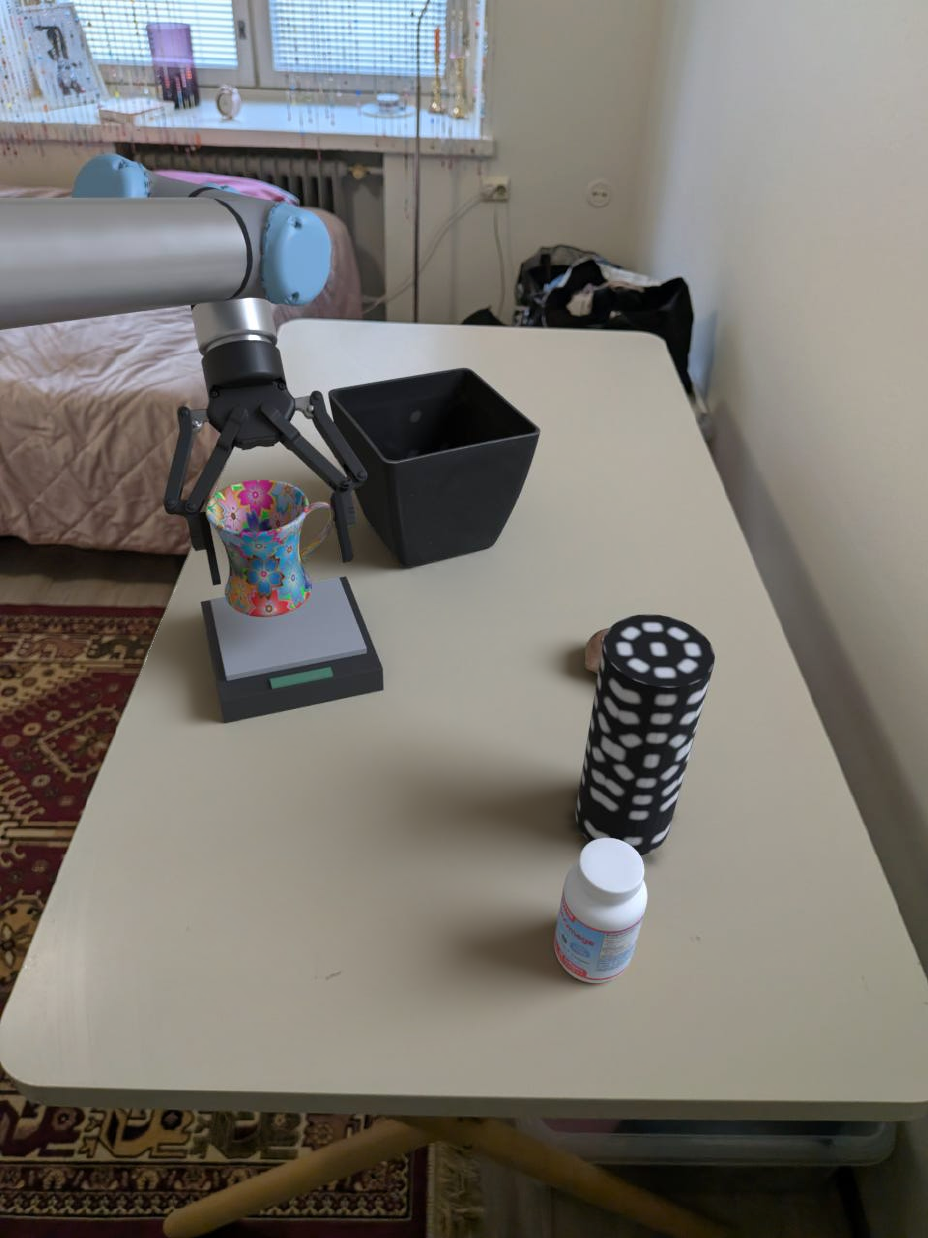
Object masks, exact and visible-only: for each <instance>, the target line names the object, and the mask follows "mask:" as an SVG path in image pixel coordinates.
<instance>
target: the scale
mask: <svg viewBox="0 0 928 1238" xmlns="http://www.w3.org/2000/svg"><path fill="white" fill-rule="evenodd" d="M347 577H348V576H346V575H345V576H340V577H339V576H338V577H332V578H331V577H330V578H326V579H321V580H314V581H311V582H312V590H311V593H310V596H309V597H308V599H307V600H306V601H305V602H304V603H303V604H302V605H301V606H300V607H298V608H297V609H295V610H293V611H291V612H288V613H286V614H283V615H279V616H273V617H254V616H249V615H245V614H243V613H240V612H238V611H237V610H235V609H234V608H232V607H231V606H230V605H229V603H228V602H227V600H226V598H225V596H223V597H216V598H211V599H207V600H201V601H200V606H201V612H202V617H203V622H204V627H205V628H204V629H205V632H206V633H205V634H206V637H207V642H208V649H209V653H210V659H211V664H212V669H213V674H214V680H215V684H216V689H217V695H218V700H219V705H220V711H221V715H222V720H223V723H224V724H228V723H232V722H237V721H242V720H246V719H252V718H256V717H260V716H261V717H262V716H265V715H271V714H276V713H281V712H284V711H289V710H293V709H299V708H303V707H304V708H305V707H309V706H313V705H319V704H323V703H327V702H332V701H337V700H341V699H346V698H351V697H356V696H360V695H365V694H370V693H375V692H379V691H384V688H385V687H384V686H385V685H384V668H383V665H382V663H381V660H380V658H379V655H378V652H377V650H376V647H375V645H374V642H373V640H372V638H371V634H370V632H369V630H368V628H367V625H366V622H365V620H364V617H363V614H362V612H361V609H360V608H359V605H358V602H357V600H356V597H355V595H354V592H353V589H352V587H351V584H350V582H349V579H348V578H347Z"/></svg>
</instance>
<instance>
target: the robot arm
mask: <svg viewBox="0 0 928 1238" xmlns="http://www.w3.org/2000/svg"><path fill="white" fill-rule="evenodd" d="M71 192H72V193H71V195H70V197H0V331H3V330H12V329H19V328H26V327H36V326H42V325H50V324H58V323H66V322H73V321H81V320H87V319H96V318H102V317H110V316H111V317H112V316H119V315H125V314H127V315H128V314H133V313H140V312H149V311H157V310H164V309H172V308H178V307H186V306H187V307H188V306H190V310H191V316H192V321H193V327H194V332H195V337H196V343H197V347H198V351H199V354H200V355H202V356H203V357H202V358H201V362H200V364H201V368H202V373H203V378H204V383H205V389H206V393H207V399H208V403H207V406H206V408H197V409H196V408H195V409H190V408H189V407H188V406H186V405H185V406H184V405H182V406H180V407H178V409H177V411H176V415H177V421H178V429H179V432H178V436H177V440H176V445H175V448H174V454H173V457H172V462H171V467H170V472H169V475H168V479H167V484H166V488H165V492H164V497H163V502H162V503H163V507H164V510H165V512H166V514H167V515H170V516H173V515H177V516H180V517H184V518H185V519H186V522H187V525H188V531H189V537H190V543H191V547H192V548H193V550H194V551H195V552H199V551H200V552H201V551H205V553H206V558H207V563H208V567H209V571H210V572H209V573H210V578H211V584H212V586H218V585H219V586H220V585H222V580H221V573H220V568H219V563H218V559H217V553H216V548H215V542H214V537H213V532H212V527H211V524H210V523H209V521H208V519H207V517H206V510H205V511H202V510H203V508H204V506H205V504H206V502H207V500H208V498H209V496H210V494H211V492H212V490H213V488H214V486H215V484H216V482H217V481H218V479H219V477H220V475H221V473H222V471H223V470H224V469H223V468H224V467H225V465H226V463H227V461H228V459H229V458H230V457H231V455H232V453H233V451H234V449H235V448H237V449H241V451H249V450H252V449H255V448H257V447H262V448H271V447H275V445H276V444H278V443H280V444H281V445H282V446H283V447H285V449H287V451H290V452H292V453H293V454H294V456H296V457H297V458H298V459H299V460H300V461H301V462H302V463H303V464H304V465H305V466H306V467H308V468H309V469H310V470H311V472H313V473H314V474H315V475H316V476H317V477H318V478H319V479H320V480H321V481H322V482H324V484H325V485H327V486H328V487H329V488H330V489H331V490H332V491H333V492H332V493H331V495H330V497H329V504H330V505H331V506H332V507H333V509H334V511H335V520H334V523H333V524H334V528H335V532H336V537H337V542H338V547H339V551H340V556H341V562H342V564H347V563H351V562H352V561H353V559H354V558H355V556H354V555H355V554H354V550H353V547H352V546H353V545H352V540H351V537H350V536H351V535H350V532H349V527H354V526H355V525H356V523H357V518H358V517H357V512H356V507H355V503H354V497H353V491H354V489H356V488H357V487H361V486H362V485H363V484H364V482H365V480H366V478H367V472H366V470H365V469H364V467H363V466H362V464H361V463H360V461H359V460H358V458H357V457H356V455H355V454H354V452H353V451H352V449H351V448H350V446H349V445H348V443H347V442H346V440H345V439H344V437H343V436H342V434H341V433H340V431H339V430H338V428H337V427H336V425H335V423H334V422H333V418H332V417H331V416H330V414H329V413H328V410H327V407H326V402H325V398H324V395H323V393H322V392H321V391H319V390H313V391H312V392H311V393H310V395H304V396H299V397H294V396H293V395H292V393H291V391H290V390H289V389H288V385H287V378H286V375H285V374H286V373H285V369H284V364H283V359H282V354H281V351H280V349H279V348H278V347H277V345H278V342H279V341H278V334H277V330H276V325H275V321H274V316H273V312H272V307H271V304H273V305H284V306H290V307H303V306H305V305H308V304H310V303H311V302H313V301H314V300H315V299H316V298H317V297H318V296H319V295H320V294H321V292H322V291H323V289H324V287H325V285H326V284H327V280H328V279H329V278H328V277H329V276H330V271H331V258H332V257H331V254H332V243H331V238H330V234H329V231H328V228H327V227H326V225H325V224H324V222H323V220H321V218H320V217H319V216H318V215H317V214H316V213H314V212H312V211H311V210H308V209H306V208H302V207H298V206H296V205H293V204H290V203H289V202H288V201H283V200H281V201H275V200H269V199H265V198H261V197H256V196H252V195H246V194H243V193H242V192H241V191H240V190H238V189H237V188H234V187H233V186H231V185H228V184H225V185H218V183H216V182H203V183H196V182H192V181H187V180H183V179H180V178H175V177H170V176H165V175H161V174H158V173H156V172H154V171H151V170H149V169H147V168H146V167H145V166H144V165H143V164H142V163H141V162H139V161H133V160H130V159H128V158H126V157H124V156H122V155H120V154H118V153H113V152H109V153H108V152H106V153H105V152H104V153H100V154H98V155H95V156H93V157H92V158H90V159H89V160H88V161H87V162H85V164H84V165H83V166H82V167H81V169H80V170H79V172H78V173H77V174H76V177H75V180H74V182H73V188H72V191H71ZM296 412H301V413H302V415H303V417H304V418H305V419H307V420H311V421H312V423H313V426H314V427H315V429H316V431H317V433H318V434H319V436H320V437H321V438H322V440H323V441H324V443H325V445H326V446H327V447H328V449H329V450H330V452H331V453H332V455H333V457H334V458H335V460H336V461H337V462H338V464H339V466H340V467H341V468H342V470H343V472H344V473H345V474H346V476H345V474H343V472H341V471H340V470H339V469H338V468H337V467H336V466H335V465H334V464H333V463H332V462H331V461H330V460H329V459H328V458H327V457H325V456H324V455H323V454H322V453H321V452H320V451H319V450H318V449H317V448H316V447H315V446H313V444H311V443H310V441H308V439H306V438H305V436H303V435H302V434H301V432H300V430H299V429H298V428H296V426H295V425H294V424H293V423H291V422H292V420H293V417H294V415H295V413H296ZM205 423H208V424H209V425H210V426H211V427H212V428H213V429H215V430H216V431H217V432H218V433H219V434H220V435H219V437H218V439H217V440H216V444H215V446H214V448H213V449H212V452H211V454H210V456H209V458H208V459H207V461H206V463H205V465H204V467H203V469H202V471H201V473H200V475H199V477H198V479H197V481H196V483H195V485H194V486H193V488H192V490H191V492H190V494H189V496H188V498H187V499H182V495H183V491H184V486H185V482H186V478H187V473H188V469H189V465H190V460H191V456H192V452H193V447H194V441H195V440H194V439H195V438H194V437H195V436H194V435H197V434H199V433H201V431H202V427H203V425H204V424H205Z"/></svg>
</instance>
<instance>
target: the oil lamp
mask: <svg viewBox="0 0 928 1238" xmlns="http://www.w3.org/2000/svg"><path fill="white" fill-rule="evenodd" d="M609 628H610V627H607V628H603V629H600V630H598V631H596V632H595V633H593V634H592V636H591V637H590V638H589V639H588V640H587V642H586V644H585V646H584V657H585V658H584V659H585V660H584V661H585V663H584V667H585V668H586V669H587V670H588V671H590V672H593V673H595V674H597V675H598V671H599V665H600V659H601V653H602V647H603V641H604V637H605V634H606V633H607V631H608V629H609Z"/></svg>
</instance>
